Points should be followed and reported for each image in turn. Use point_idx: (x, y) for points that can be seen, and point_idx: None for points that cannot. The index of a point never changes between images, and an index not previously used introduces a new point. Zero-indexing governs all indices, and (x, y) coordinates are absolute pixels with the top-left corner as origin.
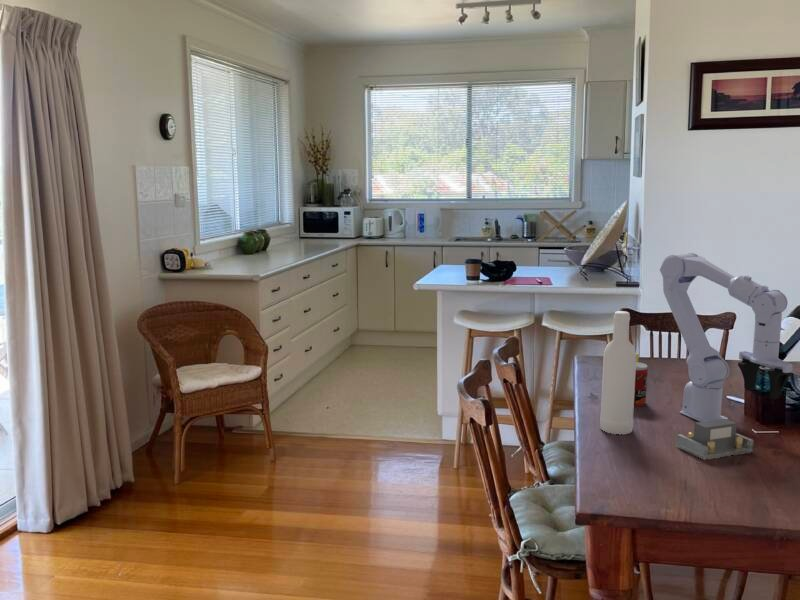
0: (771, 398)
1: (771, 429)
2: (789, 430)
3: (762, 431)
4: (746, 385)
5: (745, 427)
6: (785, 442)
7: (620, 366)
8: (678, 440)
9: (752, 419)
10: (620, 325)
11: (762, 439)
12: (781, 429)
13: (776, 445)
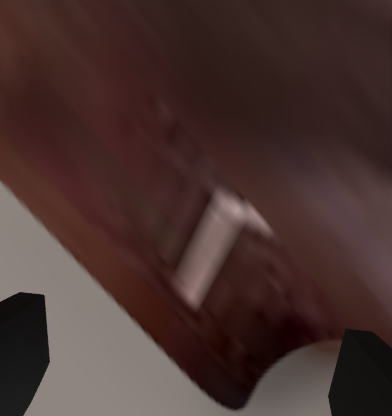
0: (26, 295)
1: (218, 296)
2: (176, 346)
3: (217, 240)
4: (386, 362)
5: (298, 217)
6: (63, 206)
7: None
8: None
9: None
10: None
11: (131, 143)
12: (199, 331)
13: (43, 133)
